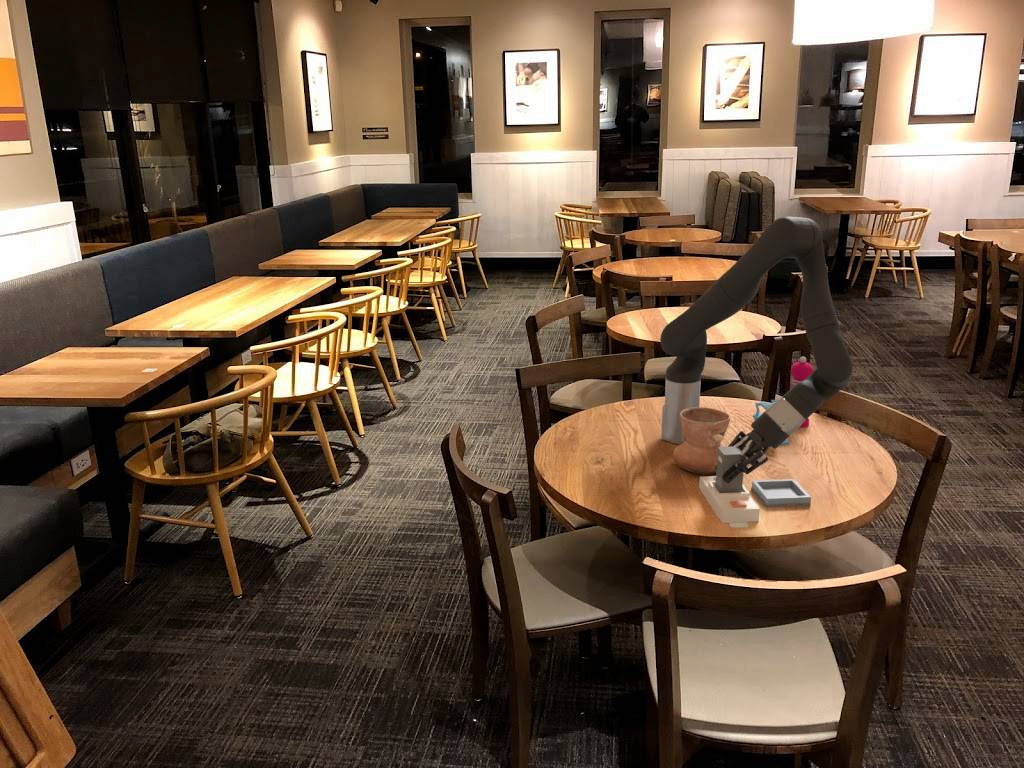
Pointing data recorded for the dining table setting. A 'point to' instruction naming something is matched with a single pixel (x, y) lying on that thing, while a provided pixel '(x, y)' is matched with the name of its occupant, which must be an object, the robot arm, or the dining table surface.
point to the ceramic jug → (701, 439)
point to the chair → (765, 406)
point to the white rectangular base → (729, 502)
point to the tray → (781, 493)
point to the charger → (725, 462)
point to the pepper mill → (801, 377)
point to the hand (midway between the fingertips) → (721, 475)
